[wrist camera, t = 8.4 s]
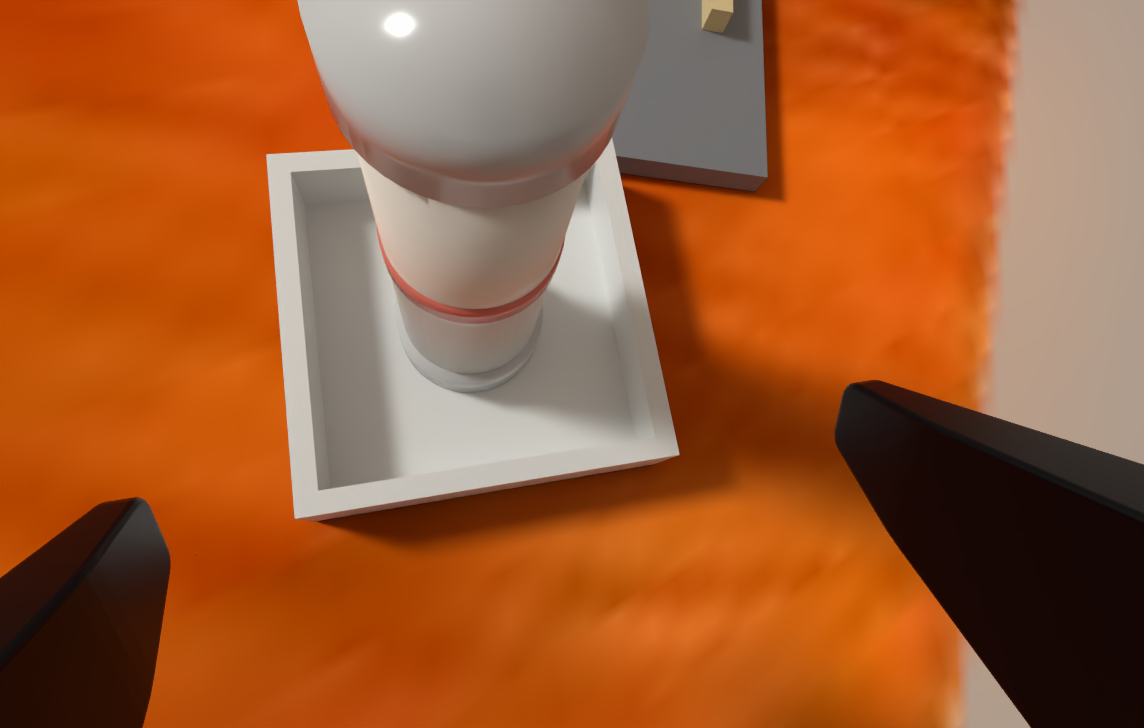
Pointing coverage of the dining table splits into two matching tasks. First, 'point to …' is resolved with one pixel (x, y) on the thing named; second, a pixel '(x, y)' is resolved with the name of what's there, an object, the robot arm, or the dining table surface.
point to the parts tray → (434, 414)
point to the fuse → (474, 154)
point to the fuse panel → (698, 97)
